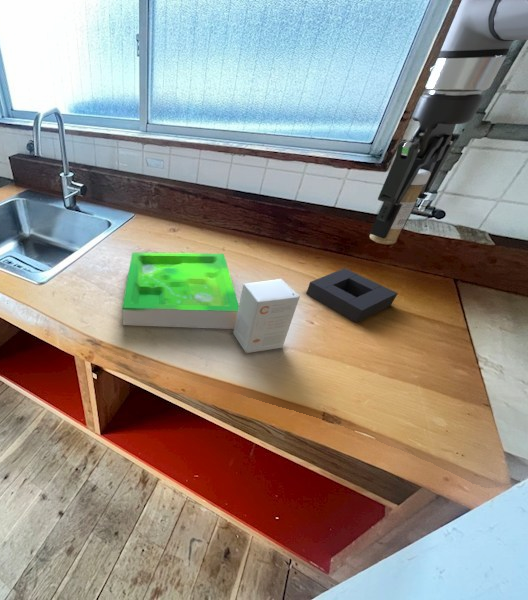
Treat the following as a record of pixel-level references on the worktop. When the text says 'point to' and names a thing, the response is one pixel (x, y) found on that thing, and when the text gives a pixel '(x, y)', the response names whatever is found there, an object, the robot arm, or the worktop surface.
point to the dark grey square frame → (352, 307)
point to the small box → (264, 315)
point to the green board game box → (179, 291)
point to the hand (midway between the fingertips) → (385, 232)
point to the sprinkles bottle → (405, 208)
